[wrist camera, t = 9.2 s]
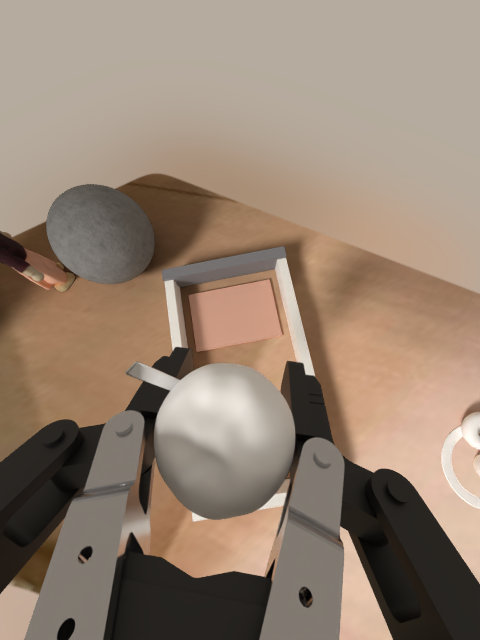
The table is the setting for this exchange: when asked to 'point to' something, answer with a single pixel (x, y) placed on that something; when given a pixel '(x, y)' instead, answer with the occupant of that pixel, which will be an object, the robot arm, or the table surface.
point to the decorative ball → (100, 234)
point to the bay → (236, 312)
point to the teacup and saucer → (469, 431)
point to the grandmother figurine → (34, 265)
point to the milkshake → (221, 438)
